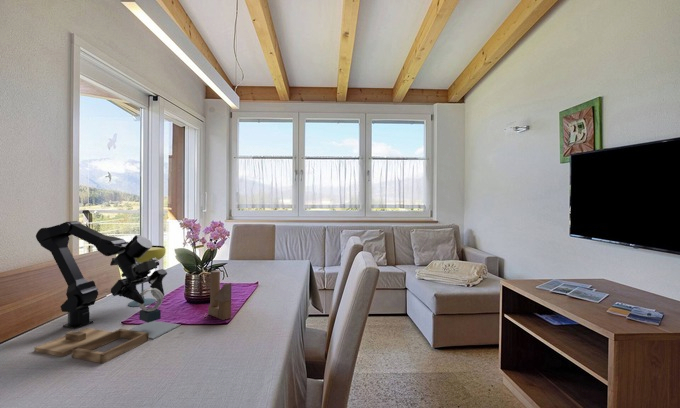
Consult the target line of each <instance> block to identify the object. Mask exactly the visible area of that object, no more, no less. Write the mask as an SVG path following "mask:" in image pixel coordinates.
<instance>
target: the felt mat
mask: <svg viewBox="0 0 680 408" xmlns="http://www.w3.org/2000/svg"><path fill="white" fill-rule="evenodd" d="M180 326H181V324H179V323H173V322H164V321H158V320H155V321H152V322H149V323H148V322H143V323H140V324H139V325H136V326H134V327H132V328H129V330H133V331H139V332H146V333H149V336H148V340H155V339H157V338H159V337H160V336H163V335H165V334H167V333H169V332H170V331H172V330H175V329H177V328H179V327H180Z"/></svg>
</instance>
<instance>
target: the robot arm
mask: <svg viewBox="0 0 680 408" xmlns="http://www.w3.org/2000/svg"><path fill="white" fill-rule="evenodd" d="M72 235H73V236H74V237H76V238H78V239H80V240H83V241H85V242H87V243H89V244H90V245H92V246H94V247H95V248H96V251H98V252H99V253H100V254H102V255H103V256H105V257H110V256H116V255H117V256H116V257H112V258H111V261H110V266H118V268H119V269H120V270H121V272H122V273H121V275H120V276H121V277H122V278H121V279H118V280H117V281H116V282H115V283H114V285H112V287H111V288H110V293H111V294H112V296H113V297H116V296H119V297H123V298H126V299H129V300H131V301H136V302H138V303H140V304H143V303H144V300H143V298H142V296H141V295H140V293H141V292H139V291H138V288H137V285H142V283H143V284H144V283H149V285H150V286H149V288H157V289H158V290H160V291H161V293H162V294H163V296H164V297H165V291H164V286H163V280H164V278H166V275H168V272H167V270H166V269H164V268H162V269H161V268H160V269H158V270H156V269H157V268H158V266H160V262H159V260H157V259H156V258H152V259H150V260H149V261H146V262H143V263H142V262H141V263H139V262H138V261H137V259H136V258H141V257H142V256H143V255H144V254H145V253H146V252H147V251H148V250H149V249H150V248H151V247H152V246H153V243H152V241H151V240H150V239H148V238H146V237H144V236H141V235H140V234H135V235H134V236H133V237H132V239H131V240H130V241H126V240H125V239H124V238H120V237H116V236H109V235H105V234H103V233H101V232H98V230H95V229H93V228H90V227H89V226H87V225H85V224H82V222H80V221H78V220H73V221H65V222H63V223H60V224H56V225H53V226H50V227H42V228H40V229H38V231H37V233H36V235H35V238H36V240H37V242H38V243H39V244H40V246H41V247H42V248H44V249H46V250H47V251H48V252H50V253H51V255H52V257H53V259H54V261H55V263H56V266H57V267H58V268H59V271H60V273H61V274H62V277H63V279H64V282H65V283H66V284H67V289H66V293H65V295H66V298H67V299H66V300H65V301H64V302H63V303H62V304H61V305H60V310H61V313H62V312H63V313H67V323H66V324H65V323H64V324H63V325H62V327H64V328H69V329H78V328H80V327H83V326H87V325H89V324H91V323H94V320H91V319H90V318H91V316H90V306H93V305H95V303H96V300H97V298H98V296H99V291H98V290H99V288H98V287H97V286H96V282H95V281H94V280H90V281H89V280H87V279H85V278H84V275H83V273H82V272H81V269H80V268H79V266H78V263H77V261H76V260H75V258H74V256H73V254H72V251H71V250H70V248H69V243H70V236H72ZM118 254H119V255H118ZM154 269H155V270H154ZM152 270H154V271H153V272H152ZM151 272H152V273H151Z"/></svg>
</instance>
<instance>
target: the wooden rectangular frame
mask: <svg viewBox="0 0 680 408" xmlns="http://www.w3.org/2000/svg"><path fill="white" fill-rule="evenodd" d="M111 332H112V333H109V334H107V335H104V336H102V337H100V338H97V339H95V340H92V341H90V342H88V343H85V344H83V345H80V346H78V347H76V348H73V349H72V353H71V358H72V359H73V358H74V359H78V360H84V361H88V362H94V363H100V364H104V363H106V362H108V361H111V360H112V359H114V358H116V357H118V356H121V355H122V354H124V353H126V352H129V351H130V350H132V349H134V348H136V347H138V346H140V345H142V344H144V343H147V342H148V341H149V339H148V336H149V333H146V332H139V331H133V330H130V329H125V328H119V329H116V330H115V331H111ZM117 339H128V340H127V341H125V342H123V343H121V344H119V345H116V346H114V347H112V348H111V349H109V350H107V351H104V352H103V351H97V350H95V349H97V348H99V347H102V346H104V345H106V344H109V343H111V342H114V341H115V340H117Z"/></svg>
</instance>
